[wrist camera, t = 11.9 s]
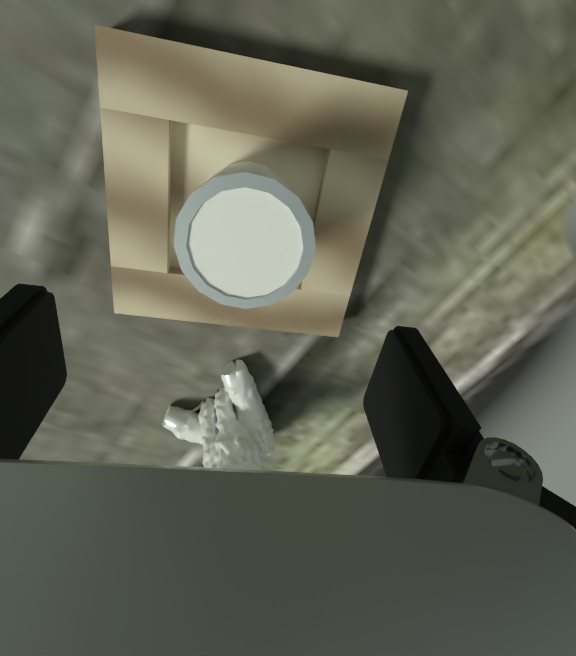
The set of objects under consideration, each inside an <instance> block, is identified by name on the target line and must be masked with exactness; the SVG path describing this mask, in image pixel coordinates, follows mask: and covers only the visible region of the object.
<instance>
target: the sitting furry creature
mask: <svg viewBox="0 0 576 656" xmlns="http://www.w3.org/2000/svg"><path fill="white" fill-rule="evenodd" d="M221 377H222V381H223V383H224V387H221V389H220V390H219V392H218V391H217V392H216V394H215V399H211V398H206V402H204V401H202V402H201V404H200V405H198V406H197V407H196V408H194V409H193V410H186V409H182V408H180V407H177V406H176V407H173V406H171V405H169V408H168V409H167V412H166V414H165V417H164V420H163V424H162V426H164V427H165V428H166V429H169V430H171V431H172V432H173V434H174V435H175V436H176V437H177V438H179V439H185V440H187V441H189V442H192V443H195V442H197V443H199V444H202V445H203V449H204V452H203V459H204V460H203V462H202V463H203V465H204V468H223V469H243V470H261V469H262V464H263V462H264V459H265V458H266V456H269V455H270V454H271V453H270V450H271V449H273V448H272V443H273V442H274V439H273V431H274V430H273V428H272V427H271V425H272V423H271V421H270V419H269V418H268V417H269V416H268V413H267V412H266V409H265V406H264V405H263V404H262V399H261V397H260V394H259V393H258V392H257V389H256V388H257V386H256V383H255V382H254V378H253V376H252V375H251V374H250V373H249V372H248V368H247V366H246V365H245V363H244V362H243V361H242V360H236V363H235V362H233V361H230V362H229V363H228V364H226V365H225V366H224V367H223V368H222V370H221ZM233 403H234V408H233ZM199 408H200V412H199V413H196V412H195V411H196V410H198V409H199Z"/></svg>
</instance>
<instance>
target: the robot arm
mask: <svg viewBox="0 0 576 656" xmlns="http://www.w3.org/2000/svg"><path fill="white" fill-rule="evenodd" d="M66 377H67V371H66V365H65V359H64V352H63V346H62V340H61V334H60V328H59V322H58V316H57V310H56V304H55V298H54V295H53V294H52V293H50V292H47V290H46V288H45V287H44V286H36V285H27V284H17V285H15V286H14V287H13V288H12V289H11V290H10V291H9V292H8V293H6V294H5V295H4V296H3V297H2V298H1V299H0V656H576V507H575V506H574V505H572V504H570V503H569V502H567V501H565V500H564V499H562V498H561V497H559V496H557V495H556V494H554V493H553V492H551V491H549V490H547V489H546V488H544V487H543V486H542V482H543V476H542V471H541V469H540V467H539V465H538V464H537V463H536V461H535V460H534V459H533V458H532V457H531V456H530V455H529V454H528V453H527V452H526V451H524V450H523V449H521V448H520V447H518V446H517V445H515V444H513V443H511V442H509V441H506V440H503V439H500V438H485V439H484V438H483V437H482V435H481V433H480V432H479V430H480V429H481V427H480V425H479V424H478V422H477V420H476V419H475V417H474V416H473V414H472V413H471V411H470V410H469V408H468V406H467V405H466V403H465V402H464V400H463V399H462V397H461V396H460V394H459V393H458V391H457V389H456V388H455V386H454V385H453V383H452V382H451V380H450V379H449V377H448V376H447V374H446V372H445V371H444V369H443V368H442V366H441V365H440V363H439V362H438V360H437V359H436V357H435V355H434V354H433V352H432V351H431V349H430V348H429V346H428V345H427V343H426V342H425V340H424V339H423V337H422V335H421V334H420V332H419V331H418V330H417V329H416V328H412V327H403V326H397V327H395V328H394V330H390V331H389V332H388V333H387V336H386V338H385V341H384V344H383V347H382V349H381V352H380V355H379V357H378V360H377V363H376V366H375V368H374V371H373V374H372V377H371V379H370V382H369V385H368V387H367V390H366V393H365V396H364V401H363V405H364V410H365V413H366V416H367V419H368V422H369V425H370V428H371V431H372V434H373V437H374V440H375V443H376V446H377V449H378V452H379V455H380V458H381V461H382V464H383V467H384V470H385V473H386V476H387V477H375V476H357V475H339V474H320V473H302V472H283V471H263V470H243V469H223V468H202V467H181V466H160V465H137V464H114V463H91V462H68V461H44V460H19V458H20V456H21V455H22V453H23V451H24V450H25V448H26V447H27V445H28V443H29V442H30V440H31V438H32V437H33V435H34V434H35V432H36V430H37V429H38V427H39V425H40V424H41V422H42V420H43V419H44V417H45V416H46V414H47V412H48V411H49V409H50V407H51V406H52V404H53V403H54V401H55V399H56V398H57V396H58V394H59V393H60V391H61V390H62V388H63V386H64V384H65V382H66Z"/></svg>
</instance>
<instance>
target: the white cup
mask: <svg viewBox="0 0 576 656" xmlns="http://www.w3.org/2000/svg"><path fill="white" fill-rule="evenodd" d="M173 245H174V249H175V252H176V255H177V258H178V261H179V264H180V268H181V271H182V272H183V273H184V274H185V276H186V277H187V278H188V279H189V280H190V282H191V283H192V284H193V285H194V287H195V288H196V289H197V290H198V291H199V292H200V293H202V294H204V295H206V296H207V297H209V298H211V299H213V300H214V301H216V302H218V303H220V304H222V305H227V306H233V307H238V308H244V309H249V308H255V307H261V306H267V305H272V304H273V303H275V302H277V301H279V300H281V299H282V298H284V297H286V296H288V295H289V294H291V293H293V292H294V290H295V289H296V288H297V287H298V286H299V284H300V283H301V282H302V281H303V279H304V278H305V277H306V276H307V274H308V273H309V270H310V267H311V263H312V260H313V257H314V253H315V250H316V245H315V236H314V227H313V221H312V220H311V218H310V216H309V214H308V213H307V211H306V209H305V207H304V206H303V204H302V202H301V200H300V199H299V197H298V196H297V195H296V194H295V193H294V191H293V190H292V189H291V188H290V187H289V186H288V185H287V184H286V182H285V181H284V180H283V179H282V178H281V177H280V176H279V175H277V174H276V173H275V172H273V171H272V170H271V169H270V168H268V167H267V166H265V165H261V164H257V163H253V162H249V161H246V162H240V163H234V164H229V165H228V166H226V167H225V168H223V169H222V170H220V171H219V172H217V173H216V174H215V175H213V176H212V177H211V178H210V179H208V180H207V181H206V182H205V183H203V184H202V185H201V186H200V187H198V188H197V189H196V190H195V191H193V192H192V193H191V194H190V196H189V197H188V199H187V201H186V202H185V204H184V206H183V208H182V209H181V211H180V213H179V214H178V216H177V218H176V225H175V235H174V244H173Z"/></svg>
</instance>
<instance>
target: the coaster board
mask: <svg viewBox="0 0 576 656" xmlns="http://www.w3.org/2000/svg"><path fill="white" fill-rule="evenodd" d="M95 39H96V53H97V68H98V83H99V97H100V112H101V127H102V141H103V156H104V171H105V185H106V200H107V214H108V229H109V244H110V258H111V273H112V288H113V302H114V313H118V314H127V315H137V316H146V317H155V318H164V319H174V320H183V321H192V322H202V323H211V324H220V325H230V326H239V327H248V328H258V329H267V330H276V331H286V332H295V333H304V334H314V335H323V336H332V337H339V333H340V330H341V326H342V322H343V319H344V315H345V312H346V308H347V305H348V301H349V298H350V294H351V291H352V287H353V284H354V280H355V277H356V273H357V270H358V266H359V263H360V259H361V255H362V252H363V248H364V245H365V241H366V238H367V234H368V231H369V227H370V224H371V220H372V217H373V213H374V210H375V206H376V203H377V199H378V196H379V192H380V189H381V185H382V181H383V178H384V174H385V171H386V167H387V164H388V160H389V157H390V153H391V150H392V146H393V143H394V139H395V136H396V132H397V129H398V125H399V122H400V118H401V114H402V111H403V107H404V104H405V100H406V97H407V93H408V91H407V90H402V89H397V88H393V87H388V86H383V85H378V84H374V83H369V82H364V81H359V80H355V79H350V78H345V77H341V76H336V75H331V74H326V73H322V72H317V71H312V70H307V69H303V68H298V67H293V66H288V65H284V64H279V63H274V62H269V61H265V60H260V59H255V58H251V57H246V56H241V55H236V54H232V53H227V52H222V51H217V50H213V49H208V48H203V47H198V46H194V45H189V44H184V43H180V42H175V41H170V40H165V39H161V38H156V37H151V36H146V35H142V34H137V33H132V32H127V31H123V30H118V29H113V28H109V27H104V26H99V25H95ZM246 161H249V162H253V163H257V164H261V165H265V166H267V167H268V168H270V169H271V170H272V171H273V172H275V173H276V174H277V175H279V176H280V177H281V178H282V179H283V180H284V181H285V182H286V184H287V185H288V186H289V187H290V188H291V189H292V190H293V191H294V193H295V194H296V195H297V196H298V197H299V199H300V200H301V202H302V204H303V206H304V207H305V209H306V211H307V213H308V214H309V216H310V218H311V220H312V221H313V227H314V236H315V245H316V250H315V253H314V257H313V260H312V263H311V267H310V270H309V273H308V274H307V276H306V277H305V278H304V279H303V281H302V282H301V283H300V284H299V286H298V287H297V288H296V289H295V290H294V292H293V293H291V294H289V295H288V296H286V297H284V298H282V299H281V300H279V301H277V302H275V303H273V304H272V305H267V306H261V307H255V308H249V309H244V308H238V307H233V306H227V305H222V304H220V303H218V302H216V301H214V300H213V299H211V298H209V297H207V296H206V295H204V294H202V293H200V292H199V291H198V290H197V289H196V288H195V287H194V285H193V284H192V283H191V282H190V280H189V279H188V278H187V277H186V276H185V274H184V273H183V272H182V271H181V268H180V264H179V261H178V258H177V255H176V252H175V249H174V245H173V244H174V235H175V225H176V218H177V216H178V214H179V213H180V211H181V209H182V208H183V206H184V204H185V202H186V201H187V199H188V197H189V196H190V194H191V193H192V192H193V191H195V190H196V189H197V188H198V187H200V186H201V185H202V184H203V183H205V182H206V181H207V180H208V179H210V178H211V177H212V176H213V175H215V174H216V173H217V172H219V171H220V170H222V169H223V168H225V167H226V166H228V165H229V164H234V163H240V162H246Z"/></svg>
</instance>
